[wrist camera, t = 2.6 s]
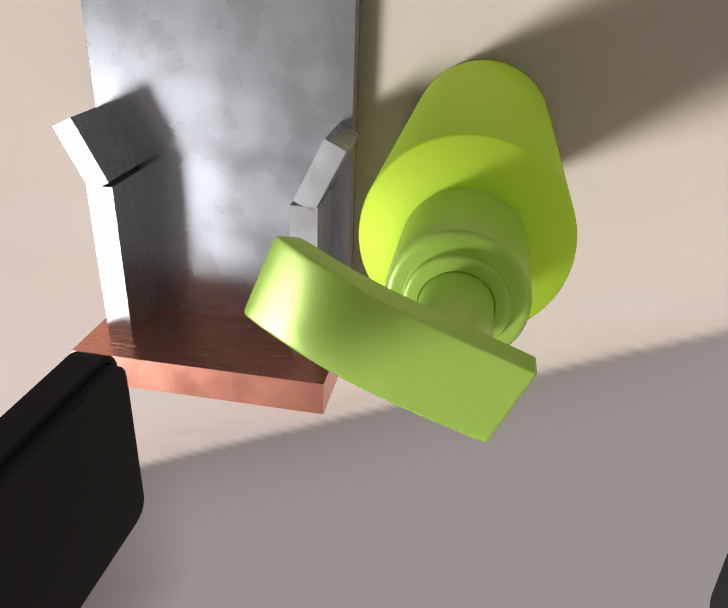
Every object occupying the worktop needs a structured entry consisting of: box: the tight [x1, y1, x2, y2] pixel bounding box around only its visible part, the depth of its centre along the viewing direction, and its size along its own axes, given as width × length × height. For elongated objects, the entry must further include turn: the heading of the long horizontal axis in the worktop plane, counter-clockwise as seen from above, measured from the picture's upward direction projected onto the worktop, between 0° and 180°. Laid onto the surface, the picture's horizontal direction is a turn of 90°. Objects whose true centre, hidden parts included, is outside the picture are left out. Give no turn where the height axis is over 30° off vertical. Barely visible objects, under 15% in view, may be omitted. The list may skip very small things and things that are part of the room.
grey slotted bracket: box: [52, 0, 360, 414], centre depth 31 cm, size 18×13×6 cm
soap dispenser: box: [244, 60, 577, 443], centre depth 21 cm, size 6×7×20 cm
